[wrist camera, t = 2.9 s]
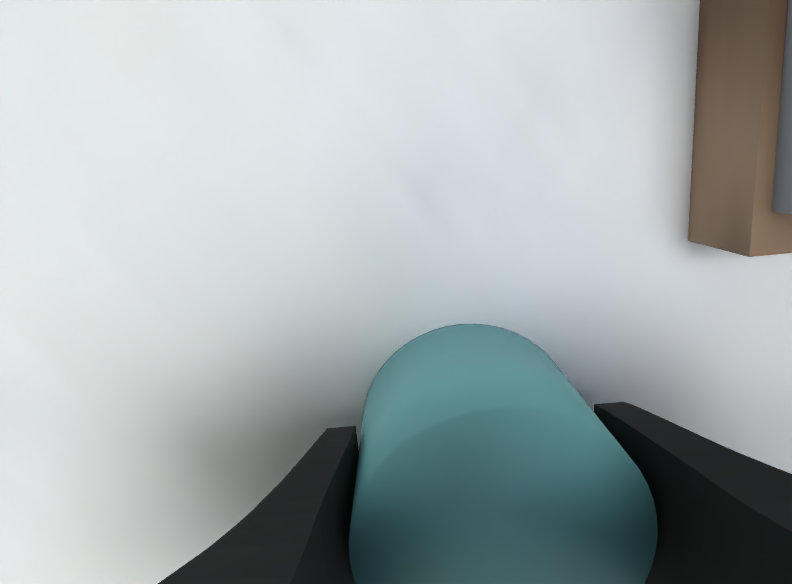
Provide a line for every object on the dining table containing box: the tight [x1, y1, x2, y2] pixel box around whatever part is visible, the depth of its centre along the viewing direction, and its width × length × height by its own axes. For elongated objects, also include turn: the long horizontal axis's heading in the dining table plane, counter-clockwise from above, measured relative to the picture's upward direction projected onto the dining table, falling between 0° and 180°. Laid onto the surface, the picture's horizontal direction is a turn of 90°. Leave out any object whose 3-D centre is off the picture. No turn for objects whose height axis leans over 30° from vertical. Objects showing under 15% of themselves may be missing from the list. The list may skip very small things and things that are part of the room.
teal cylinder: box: [349, 324, 658, 584], centre depth 10 cm, size 5×5×4 cm
